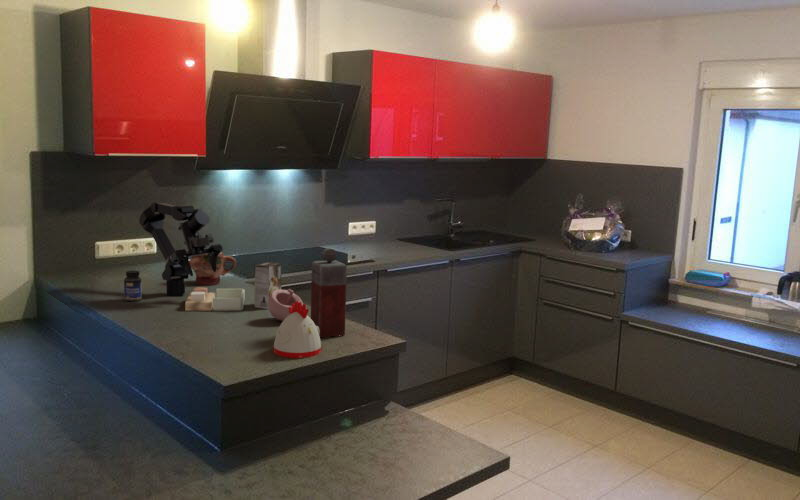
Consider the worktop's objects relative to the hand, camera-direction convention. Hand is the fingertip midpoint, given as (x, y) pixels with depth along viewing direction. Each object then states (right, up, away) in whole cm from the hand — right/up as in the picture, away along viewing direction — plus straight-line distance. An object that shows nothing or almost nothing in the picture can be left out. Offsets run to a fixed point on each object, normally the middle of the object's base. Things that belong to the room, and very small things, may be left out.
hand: (203, 273), depth 255 cm
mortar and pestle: (+33, -16, -19) cm, 41 cm away
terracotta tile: (-2, -8, +2) cm, 8 cm away
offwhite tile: (0, -9, -6) cm, 11 cm away
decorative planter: (-8, -6, +39) cm, 40 cm away
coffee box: (+24, -12, +2) cm, 27 cm away
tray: (+9, -12, 0) cm, 15 cm away
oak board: (-1, -12, -2) cm, 12 cm away
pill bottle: (-27, -10, +2) cm, 29 cm away
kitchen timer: (+43, -21, -53) cm, 72 cm away
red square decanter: (+49, -18, -32) cm, 61 cm away
